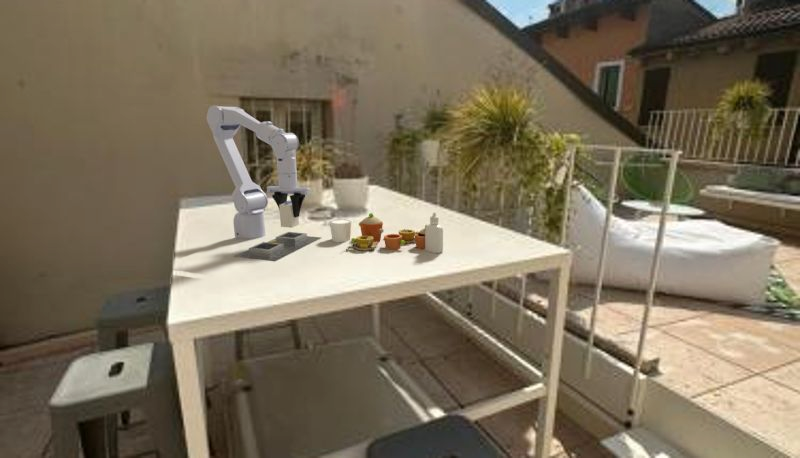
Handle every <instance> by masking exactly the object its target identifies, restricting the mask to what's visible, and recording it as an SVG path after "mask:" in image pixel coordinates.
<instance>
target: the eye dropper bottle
mask: <svg viewBox="0 0 800 458" xmlns="http://www.w3.org/2000/svg"><path fill="white" fill-rule="evenodd" d="M429 222H430V223H429V224H426V225H427V226H426V228H425V227H424V229H425V249H424V250H425V251H426V252H428V253H432V254H441V253H443V251H444V228H443V226H442V225H440V224H439V216H438V215H437V213H436V212H435V211H433V213H432V215H431V216H430V218H429Z"/></svg>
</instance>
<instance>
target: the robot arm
mask: <svg viewBox="0 0 800 458" xmlns="http://www.w3.org/2000/svg"><path fill="white" fill-rule="evenodd" d="M205 117H206V121H207V124H208V126H209V128H210V130H211V132H212V137H213V140H214V142H215V144H216V147H217V149H218V152H219V154H220V155H221V157H222V160H223V162H224V164H225V167H226V168H227V170H228V173H229V175H230V178H231V181H232V182H233V184H234V186H235V189H234V190H233V192H232V194H231V196H232V199H233V204H234V208H235V211H237V212H236V213H235V215H234V217H233V228H234V231H233V232H234V238H233V240H234V239H237V238H243V239H248V240H249V239H253V240H254V239H259V238H263V237H266V227H265V225H266V224H265V213H264V212H265V211H266V208H267V207H268V204H269V201H268V200H269V199H268V196H267V195H266V193H265V192H264V190H262V188H261V186H260V185H258V184H257V183H255V182H253V180H252V179H251V176H250V174H249V172H248V169H247V167H246V165H245V163H244V160H243V158H242V156H241V153H240V152H239V149H238V146H237V144H236V143H235V140H234V136H235V135H236V134H237V133H238V131H239V130H240V127H241V126H242V127H244V128H246V129H248V130H250V131H252V132H254V133H255V136H256V138H258V139H259V140H260V141H262V142H264V143H266V144H268V145H270V146H271V149H272V151H273V153H274V157H275V158H276V168H277V180H278V181H277V182H278V185H268V186H266V192H267V193H268V194H272V193H273V194H272V196H271V197H272V199H273V200H274V202H275V204H276V205H277V208H278V210H279V211H280V209H279V205H280V204H283V203H284V202H286V201H288V195H289V194H290V195H289V199H290V201H291V202H292V206H293V215H294V217H298V218H299V217H300V214H301V207H302V205H303V202H304V201H305V198H306V196H309V195H311V194H312V192H311V188H310V187H304V186H298V172H297V157H296V156H297V154H296V151H297V150H298V149H299V147H300V141H299V138H298V136H297V135H296V134H295V133H294V132H285V129H283V128H279V127H278V126H275V125H273V121H272V122H271V121H269V120H268V121H262V122H261V121H259V120H258V119H256V118H255V117H253V116H252V115H250V114H249V113H247V112H245V110H244V109H243V108H240V107H238V106H234V105H233V106H221V105H219V106H218V105H212V106H209V108H208V110H207V114H206V116H205Z"/></svg>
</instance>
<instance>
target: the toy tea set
mask: <svg viewBox="0 0 800 458" xmlns="http://www.w3.org/2000/svg"><path fill="white" fill-rule="evenodd" d="M383 224H384V223H383V221H382V220H381V219H380V218H378V217H376V216H374V214H373V213H372V212H371V213H369V214H368V216H366V217H365V218H363V219H362V220H360V221H359V222H358V227H360V234H361V235H359V236H356V238H355V237H352V238H350V241H351V243H352V244H355V243H356V244H355V245H354V249H355V250H358V251H367V252H368V251H371V250H374V249H376V248H377V246H378V244H379V243H380V242H381V241H382V240H383V241H384V245H385V249H386V250H391V251H392V250H393V251H396V250H400V249H401V247H402V246H405V245H406V244H413V243H415V247H416V249H418V250H425V228H426V226H427V225H428V224H425V225H424V228H422V229H421V230H419V231H415V230H413V229H409V228H407V229H405V228H404V229H400V230H398V233H390V234H389V233H388V234H385V235H384V236H383V238H382V233H384V229H383ZM381 238H382V239H381Z"/></svg>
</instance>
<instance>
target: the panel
mask: <svg viewBox="0 0 800 458" xmlns="http://www.w3.org/2000/svg"><path fill="white" fill-rule="evenodd" d="M321 239H322V237H319V236H308V233H305V232H295V231H287V232H285V233H282V234H279V235H278V236H275V238H274V239H271V240H269V241H267V242H266V241H265V242H264V241H263V242H260V243H258V244H255V245H254V246H251V247H248V249H247V250H245V251H242V252H241V253H238V254H236V255H232V256H233V257H234V258H242V259H251V260H260V261H267V262H276V261H279V260H281V259H282V258H285V257H287V256H288V255H291V254H293V253H295V252H297V251H299V250H300V249H303V248H304V247H307V246H309V245H311V244H312V243H315V242H317V241H318V240H321Z"/></svg>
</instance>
